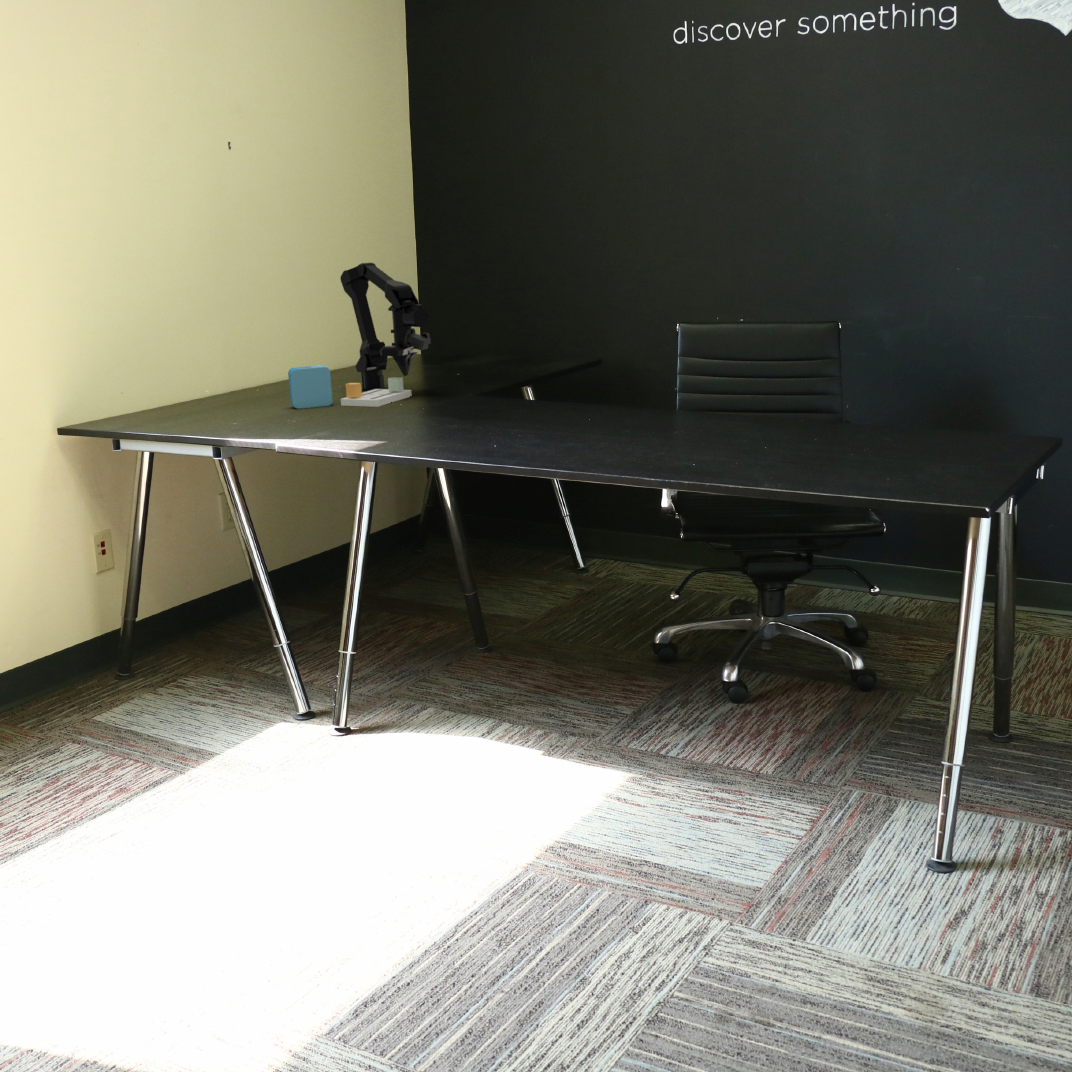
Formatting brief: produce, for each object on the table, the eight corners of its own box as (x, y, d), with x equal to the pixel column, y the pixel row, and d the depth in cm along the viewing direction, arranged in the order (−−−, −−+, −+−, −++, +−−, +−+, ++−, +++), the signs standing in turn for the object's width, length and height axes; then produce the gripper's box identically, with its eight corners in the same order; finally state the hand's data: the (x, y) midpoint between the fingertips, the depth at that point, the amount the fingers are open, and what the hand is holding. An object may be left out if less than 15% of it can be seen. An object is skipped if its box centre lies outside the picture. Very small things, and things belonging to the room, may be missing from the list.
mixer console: (341, 405, 356) (340, 398, 356) (376, 395, 374) (375, 388, 373) (377, 406, 351) (377, 399, 350) (411, 396, 368) (411, 389, 368)
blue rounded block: (330, 403, 361) (326, 364, 358) (333, 405, 357) (329, 366, 354) (291, 407, 357) (287, 367, 354) (293, 409, 353) (289, 369, 350)
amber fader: (346, 397, 357) (345, 384, 355) (352, 395, 359) (350, 382, 358) (356, 397, 355) (355, 384, 354) (362, 396, 358) (360, 383, 357)
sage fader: (388, 391, 365) (387, 378, 364) (393, 389, 368) (392, 377, 367) (398, 391, 364) (397, 378, 362) (403, 390, 366) (402, 377, 365)
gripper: (409, 329, 355) (412, 380, 359) (439, 322, 371) (442, 372, 375) (377, 329, 359) (381, 379, 363) (408, 322, 375) (412, 371, 380)
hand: (405, 375), depth 370 cm, fingers closed
